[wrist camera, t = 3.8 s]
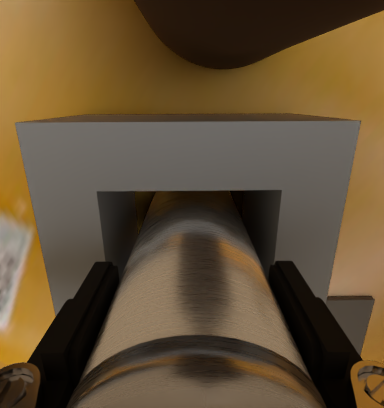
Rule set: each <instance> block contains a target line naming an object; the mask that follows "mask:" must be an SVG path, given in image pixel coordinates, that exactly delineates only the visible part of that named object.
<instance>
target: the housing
mask: <svg viewBox="0 0 384 408" xmlns="http://www.w3.org/2000/svg"><path fill="white" fill-rule="evenodd" d="M360 123H361V121H358V120H348V119H339V118H329V117H319V116H310V115H300V114H106V115H77V116H69V117H60V118H51V119H43V120H34V121H25V122H17V123H15V125H16V130H17V135H18V139H19V144H20V149H21V154H22V158H23V163H24V168H25V173H26V177H27V182H28V187H29V192H30V196H31V201H32V206H33V210H34V215H35V220H36V225H37V229H38V234H39V239H40V244H41V248H42V253H43V258H44V263H45V267H46V272H47V277H48V282H49V286H50V291H51V296H52V300H53V305H54V310H55V315H56V316H57V314H58V313H59V311H60V309H61V308H62V306H63V305H64V303H65V302H66V301H67V300H68V299H73V298H74V296H75V294H76V293H77V291H78V289H79V288H80V286H81V284H82V283H83V281H84V280H85V278H86V276H87V275H88V273H89V271H90V270H91V268H92V266H93V265H94V263H95V262H112V263H113V266H116V265H117V266H118V272H119V281H120V279H121V277H122V274H123V272H124V269H125V267H126V264H127V262H128V259H129V257H130V254H131V252H132V249H133V247H134V244H135V242H136V239H137V237H138V231H137V218H136V206H135V193H134V191H216V190H244V199H243V215H242V221H243V224H244V226H245V228H246V230H247V233H248V235H249V237H250V240H251V242H252V244H253V246H254V249H255V251H256V253H257V256H258V258H259V260H260V263H261V265H262V267H263V269H264V272H265V274H266V276H267V279H268V277H269V268H270V265H274V264H275V261H293V262H294V264H295V266H296V267H297V269H298V270H299V272H300V273H301V275H302V276H303V278H304V280H305V281H306V283H307V284H308V286H309V287H310V289H311V290H312V292H313V294H314V295H315V297H319V298H321V299H322V300H323V301H324V303H325V304H326V300H327V294H328V289H329V284H330V279H331V274H332V268H333V263H334V258H335V253H336V248H337V243H338V237H339V232H340V227H341V222H342V217H343V211H344V206H345V201H346V196H347V191H348V186H349V180H350V175H351V170H352V165H353V160H354V154H355V149H356V144H357V139H358V134H359V128H360Z"/></svg>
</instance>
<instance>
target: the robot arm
mask: <svg viewBox="0 0 384 408" xmlns="http://www.w3.org/2000/svg"><path fill="white" fill-rule="evenodd" d="M268 281H269V283H270V285H271V288H272V290H273V292H274V295H275V297H276V299H277V301H278V304H279V306H280V308H281V311H282V313H283V315H284V318H285V320H286V322H287V324H288V327H289V329H290V331H291V334H292V336H293V338H294V340H295V343H296V345H297V347H298V350H299V352H300V354H301V356H302V359H303V361H304V363H305V366H306V368H307V370H308V373H309V375H310V377H311V379H312V382H313V383H314V384H315V386H316V387H317V389H318V390H319V392H320V394H321V396H322V399H323V401H324V403H325V405H326V407H327V408H384V364H382V363H379V362H376V361H369V360H365V361H363V360H362V358H361V357H360V355H359V354H358V352H357V351H356V349H355V348H354V346H353V345H352V343H351V342H350V340H349V339H348V337H347V336H346V334H345V333H344V331H343V330H342V328H341V327H340V325H339V324H338V322H337V321H336V319H335V318H334V316H333V315H332V313H331V312H330V310H329V309H328V307H327V306H326V304H325V303H324V301H323V300H322V299H321V298H319V297H315V295H314V294H313V292H312V290H311V289H310V287H309V286H308V284H307V283H306V281H305V280H304V278H303V276H302V275H301V273H300V272H299V270H298V269H297V267H296V266H295V264H294V262H293V261H275V264H274V265H270V268H269V277H268ZM119 282H120V281H119V272H118V266H117V265H116V266H113V263H112V262H95V263H94V265H93V266H92V268H91V270H90V271H89V273H88V275H87V276H86V278H85V280H84V281H83V283H82V284H81V286H80V288H79V289H78V291H77V293H76V294H75V296H74V298H73V299H68V300H67V301H66V302H65V303H64V305H63V306H62V308H61V309H60V311H59V313H58V314H57V316H56V317H55V319H54V320H53V322H52V324H51V325H50V327H49V328H48V330H47V332H46V333H45V335H44V336H43V338H42V339H41V341H40V343H39V344H38V346H37V347H36V349H35V351H34V352H33V354H32V355H31V357H30V358H29V360H28V362H27V363H24V362H22V363H15V364H12V365H9V366H6V367H3V368H2V369H0V408H66V407H67V404H68V402H69V400H70V398H71V396H72V394H73V392H74V390H75V389H76V387H77V386H78V384H79V381H80V379H81V376H82V374H83V371H84V369H85V366H86V364H87V361H88V359H89V356H90V354H91V351H92V349H93V346H94V344H95V341H96V339H97V337H98V334H99V332H100V329H101V327H102V324H103V322H104V319H105V317H106V314H107V312H108V309H109V307H110V304H111V302H112V299H113V297H114V294H115V292H116V289H117V287H118V284H119Z"/></svg>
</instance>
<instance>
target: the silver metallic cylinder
mask: <svg viewBox="0 0 384 408" xmlns="http://www.w3.org/2000/svg"><path fill="white" fill-rule="evenodd" d="M66 408H327V407H326V405H325V403H324V401H323V399H322V396H321V394H320V392H319V390H318V389H317V387H316V386H315V384H314V383H313V382H312V379H311V377H310V375H309V373H308V370H307V368H306V366H305V363H304V361H303V359H302V356H301V354H300V352H299V350H298V347H297V345H296V343H295V340H294V338H293V336H292V334H291V331H290V329H289V327H288V324H287V322H286V320H285V318H284V315H283V313H282V311H281V308H280V306H279V304H278V301H277V299H276V297H275V295H274V292H273V290H272V288H271V285H270V283H269V281H268V279H267V276H266V274H265V272H264V269H263V267H262V265H261V263H260V260H259V258H258V256H257V253H256V251H255V249H254V246H253V244H252V242H251V240H250V237H249V235H248V233H247V230H246V228H245V226H244V224H243V221H242V219H241V217H240V214H239V212H238V210H237V208H236V205H235V203H234V201H233V198H232V196H231V194H230V192H229V190H216V191H156V193H155V195H154V197H153V199H152V202H151V204H150V207H149V209H148V212H147V214H146V217H145V219H144V222H143V224H142V227H141V229H140V232H139V234H138V237H137V239H136V242H135V244H134V247H133V249H132V252H131V254H130V257H129V259H128V262H127V264H126V267H125V269H124V272H123V274H122V277H121V279H120V282H119V284H118V287H117V289H116V292H115V294H114V297H113V299H112V302H111V304H110V307H109V309H108V312H107V314H106V317H105V319H104V322H103V324H102V327H101V329H100V332H99V334H98V337H97V339H96V341H95V344H94V346H93V349H92V351H91V354H90V356H89V359H88V361H87V364H86V366H85V369H84V371H83V374H82V376H81V379H80V381H79V384H78V386H77V387H76V389H75V390H74V392H73V394H72V396H71V398H70V400H69V402H68V404H67V407H66Z"/></svg>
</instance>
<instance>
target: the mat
mask: <svg viewBox="0 0 384 408" xmlns="http://www.w3.org/2000/svg"><path fill="white" fill-rule="evenodd" d="M374 301H375V300H374V299H373V298H372V296H355V297H327V300H326V306H327V307H328V309H329V310H330V312H331V313H332V315H333V316H334V318H335V319H336V321H337V322H338V324H339V325H340V327H341V328H342V330H343V331H344V333H345V334H346V336H347V337H348V339H349V340H350V342H351V343H352V345H353V346H354V348H355V349H356V351H357V352H358V354H359V355H360V354H361V350H362V346H363V342H364V339H365V335H366V331H367V327H368V323H369V320H370V316H371V312H372V308H373V304H374Z"/></svg>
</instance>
